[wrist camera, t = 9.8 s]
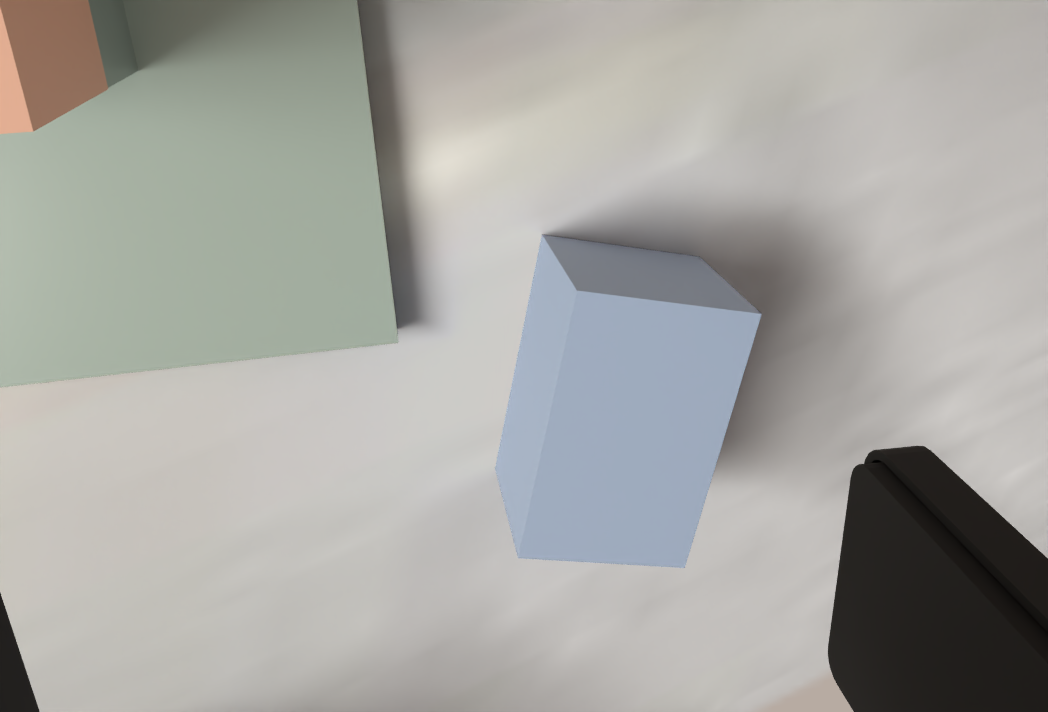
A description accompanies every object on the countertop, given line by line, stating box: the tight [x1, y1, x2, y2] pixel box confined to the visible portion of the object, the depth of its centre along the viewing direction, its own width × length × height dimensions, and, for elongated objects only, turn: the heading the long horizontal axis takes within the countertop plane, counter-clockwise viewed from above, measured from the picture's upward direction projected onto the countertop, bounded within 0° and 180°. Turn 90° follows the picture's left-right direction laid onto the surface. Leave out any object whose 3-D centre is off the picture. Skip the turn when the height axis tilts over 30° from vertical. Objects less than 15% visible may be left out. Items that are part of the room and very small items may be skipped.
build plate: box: [0, 0, 398, 387], centre depth 22 cm, size 13×16×4 cm
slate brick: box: [495, 235, 762, 568], centre depth 27 cm, size 5×8×5 cm, turn 169°
